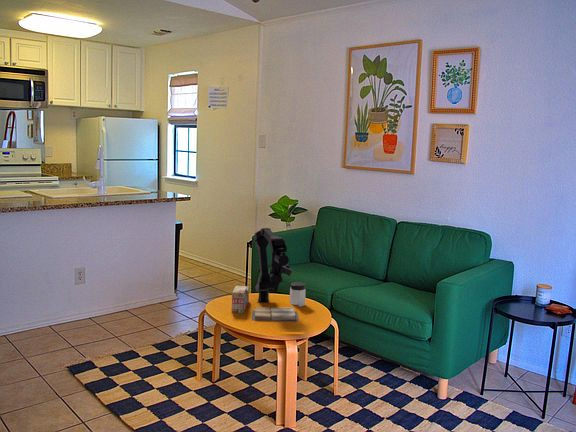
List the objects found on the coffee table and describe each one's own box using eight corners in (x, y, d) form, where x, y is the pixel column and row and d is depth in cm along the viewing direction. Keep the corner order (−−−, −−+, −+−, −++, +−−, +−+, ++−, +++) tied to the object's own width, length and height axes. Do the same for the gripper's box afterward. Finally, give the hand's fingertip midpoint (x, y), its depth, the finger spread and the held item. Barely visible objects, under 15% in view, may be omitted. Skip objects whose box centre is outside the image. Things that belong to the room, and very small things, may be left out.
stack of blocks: (237, 302, 309) (238, 281, 307) (248, 302, 309) (249, 281, 307) (231, 314, 288) (231, 291, 286) (243, 315, 288) (243, 292, 286)
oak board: (255, 310, 292) (255, 307, 291) (270, 311, 292) (270, 307, 292) (254, 319, 278) (254, 316, 277) (270, 320, 278) (270, 316, 278)
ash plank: (271, 311, 292) (271, 307, 292) (293, 310, 293) (293, 307, 292) (271, 320, 278) (271, 316, 278) (295, 319, 279) (295, 316, 278)
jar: (288, 302, 312) (289, 281, 310) (302, 301, 314) (303, 281, 312) (292, 307, 303) (292, 286, 302) (306, 306, 305) (307, 285, 304)
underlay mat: (252, 312, 293) (252, 310, 293) (297, 313, 294) (297, 311, 294) (251, 322, 277) (251, 320, 277) (299, 323, 278) (299, 321, 278)
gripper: (292, 266, 282) (291, 295, 285) (290, 257, 301) (289, 285, 303) (270, 265, 282) (269, 294, 284) (270, 257, 300) (269, 284, 302)
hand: (275, 289), depth 293 cm, fingers open, 9 cm apart
